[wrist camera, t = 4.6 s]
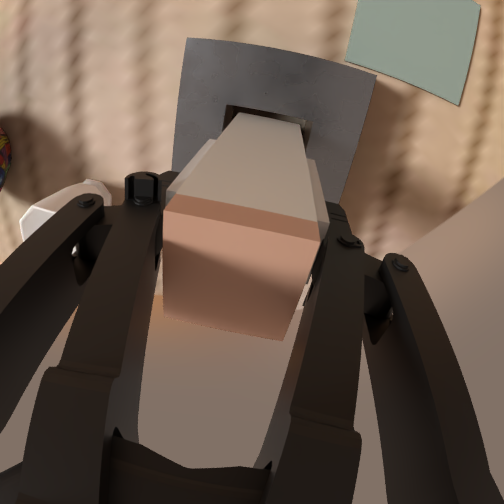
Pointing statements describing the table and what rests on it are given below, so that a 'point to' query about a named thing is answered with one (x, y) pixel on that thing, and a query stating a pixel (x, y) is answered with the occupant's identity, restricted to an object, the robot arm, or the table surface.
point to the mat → (416, 42)
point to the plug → (242, 231)
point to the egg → (4, 157)
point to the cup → (59, 205)
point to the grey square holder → (273, 101)
